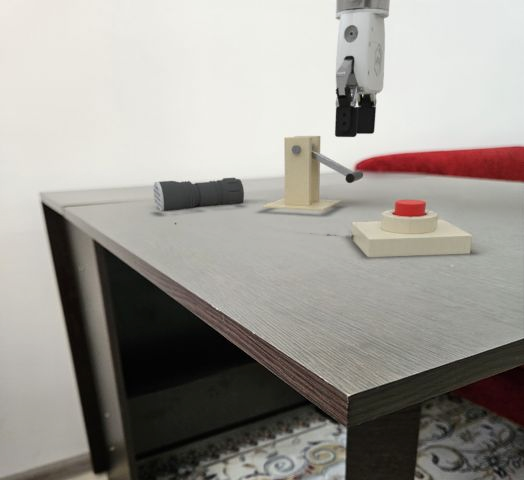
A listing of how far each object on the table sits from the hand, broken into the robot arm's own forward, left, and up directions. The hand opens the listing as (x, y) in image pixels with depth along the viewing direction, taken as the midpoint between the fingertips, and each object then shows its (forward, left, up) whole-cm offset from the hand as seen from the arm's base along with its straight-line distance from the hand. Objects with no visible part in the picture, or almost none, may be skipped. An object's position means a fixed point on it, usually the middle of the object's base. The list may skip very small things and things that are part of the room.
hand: (355, 135), depth 82 cm
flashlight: (+26, -7, -12) cm, 29 cm away
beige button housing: (-2, +24, -12) cm, 27 cm away
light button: (-2, +24, -8) cm, 25 cm away
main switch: (+4, -3, -5) cm, 7 cm away
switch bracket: (+8, -4, -12) cm, 15 cm away
